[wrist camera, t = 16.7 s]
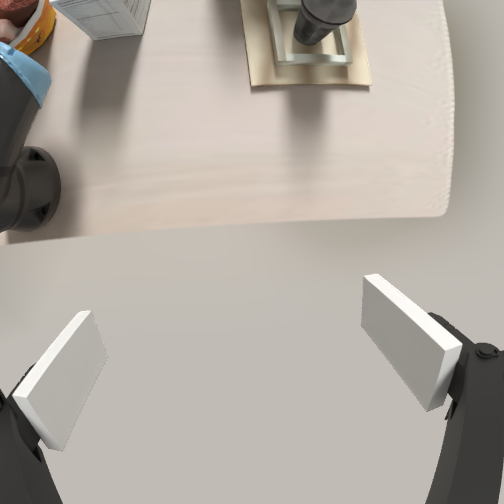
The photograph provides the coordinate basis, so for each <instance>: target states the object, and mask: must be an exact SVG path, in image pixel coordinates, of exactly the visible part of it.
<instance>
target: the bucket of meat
mask: <svg viewBox="0 0 504 504" xmlns="http://www.w3.org/2000/svg"><path fill="white" fill-rule="evenodd" d="M55 16H56V12H55V11H54V9H53V7H52V5H51V4H49V0H0V42H3V43H5V44H7V45H9V46H11V47H12V48H14V49H15V50H18V51H20V52H22V53H24V54H25V55H27V56H28V55H29V54H31V53H32V52H33V51H34V50H36V49H37V48H38V47H39V46H41V45H42V44H43V43H44V41H45V40H46V38H47V37H48V35H49V34H50V33H51V31H52V29H53V26H54V21H55Z"/></svg>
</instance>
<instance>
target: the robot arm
mask: <svg viewBox="0 0 504 504" xmlns="http://www.w3.org/2000/svg"><path fill="white" fill-rule="evenodd" d="M50 84H51V76H50V74H49V72H48V71H47V70H46V69H45V68H44V67H43V66H41V65H40V64H39V63H37V62H36V61H34V60H33V59H32V58H30V57H28V56H27V55H25V54H24V53H22V52H20V51H18V50H15V49H14V48H12V47H11V46H9V45H7V44H5V43H3V42H0V233H1V232H3V231H6V230H13V231H20V232H29V231H33V230H35V229H38V228H40V227H42V226H44V225H45V224H46V223H47V222H48V221H49V220H50V219H51V218H52V216H53V214H54V213H55V211H56V208H57V205H58V202H59V197H60V177H59V172H58V169H57V166H56V164H55V162H54V160H53V158H52V157H51V156H50V155H49V154H48V153H47V152H46V151H45V150H43V149H42V148H39V147H35V146H24V147H23V145H24V143H25V140H26V138H27V135H28V133H29V130H30V128H31V126H32V123H33V121H34V119H35V117H36V115H37V112H38V110H39V109H41V107H42V102H43V100H44V98H45V95H46V93H47V91H48V89H49V87H50ZM361 326H362V328H363V329H364V330H365V331H366V333H367V334H368V335H369V336H370V338H371V339H372V340H373V342H374V343H375V344H376V345H377V347H378V348H379V349H380V351H381V352H382V353H383V354H384V356H385V357H386V358H387V360H388V361H389V362H390V364H391V365H392V366H393V367H394V369H395V370H396V372H397V373H398V374H399V375H400V377H401V378H402V379H403V381H404V382H405V383H406V385H407V386H408V387H409V389H410V390H411V391H412V393H413V394H414V395H415V397H416V398H417V400H418V401H419V402H420V404H421V405H422V406H423V408H424V409H425V410H426V412H428V411H431V410H433V409H435V408H437V407H440V406H442V405H443V404H444V401H445V399H446V396H447V393H448V394H449V395H450V396H451V397H452V399H453V400H452V403H451V405H450V408H449V410H448V412H447V415H446V417H445V420H447V419H448V421H447V427H446V431H445V436H444V441H443V445H442V449H441V453H440V457H439V461H438V465H437V468H436V472H435V475H434V479H433V482H432V485H431V488H430V491H429V494H428V497H427V500H426V503H425V504H498V499H499V493H500V487H501V479H502V471H503V460H504V351H500V350H499V349H498V348H497V347H495V346H493V345H492V344H488V343H477V344H474V343H473V342H472V341H470V340H469V339H468V338H467V337H466V336H464V335H463V334H462V333H461V332H460V331H459V330H457V329H455V327H454V326H452V325H451V324H449V322H448V321H446V320H445V319H444V318H443V317H441V316H439V315H436V314H434V313H426V312H424V311H423V310H422V309H421V308H420V307H418V306H417V305H416V304H415V303H414V302H412V301H411V300H409V298H407V297H406V296H405V295H404V294H402V293H401V292H400V291H399V290H397V289H396V288H395V287H393V286H392V285H391V284H390V283H389V282H387V281H386V280H385V279H383V278H382V277H381V276H380V275H378V274H372V275H366V276H363V299H362V321H361ZM107 359H108V354H107V352H106V349H105V347H104V344H103V342H102V339H101V336H100V333H99V330H98V328H97V324H96V322H95V319H94V316H93V313H92V311H80V312H78V314H77V315H76V316H75V317H74V318H73V319H72V320H71V322H70V323H69V324H68V325H67V326H66V327H65V328H64V330H63V331H62V332H61V333H60V334H59V336H58V337H57V338H56V339H55V341H54V342H53V343H52V344H51V345H50V347H49V348H48V349H47V350H46V351H45V353H44V354H43V355H42V356H41V358H40V359H39V360H38V362H37V363H35V364H34V365H32V366H31V367H30V368H29V369H28V371H27V372H26V373H25V376H23V377H22V378H21V380H20V382H18V384H17V385H16V387H15V388H14V389H13V390H12V392H11V393H10V394H9V396H8V397H7V399H6V398H5V396H4V394H3V393H2V391H1V389H0V504H63V503H62V501H61V498H60V496H59V494H58V491H57V489H56V487H55V485H54V482H53V479H52V477H51V474H50V472H49V469H48V466H47V464H46V461H45V459H44V455H43V452H42V450H41V448H40V447H39V446H38V442H39V440H40V438H41V440H42V441H43V442H44V444H45V445H46V446H47V447H48V448H49V449H54V450H58V451H63V450H64V448H65V446H66V443H67V441H68V439H69V436H70V434H71V432H72V430H73V428H74V426H75V423H76V421H77V419H78V417H79V415H80V413H81V411H82V408H83V406H84V404H85V402H86V400H87V398H88V396H89V394H90V392H91V390H92V388H93V386H94V384H95V382H96V380H97V378H98V376H99V374H100V372H101V370H102V368H103V367H104V365H105V363H106V361H107Z"/></svg>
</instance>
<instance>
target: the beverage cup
mask: <svg viewBox="0 0 504 504" xmlns="http://www.w3.org/2000/svg"><path fill="white" fill-rule="evenodd" d="M356 8H357V2H356V0H301V7H300V10H299V13H298V16H297V19H296V22H295V26H294V31H293V34H294V37H295V39H296V40H297V41H298V42H299V43H301V44H303V45H307V46H312V45H315V44H317V43H318V42H320V41H321V40H322V39H323V38H325V37H326V36H327V35H328V34H330V33H331V32H332V31H333V30H334V29H336V28H337V27H339V26H341V25H343V24H346V23H348V22H349V21H350V20H352V18H353V16H354V13H355V11H356Z"/></svg>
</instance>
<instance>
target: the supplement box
mask: <svg viewBox="0 0 504 504" xmlns="http://www.w3.org/2000/svg"><path fill="white" fill-rule="evenodd" d="M150 1H151V0H50V2H49V4H51V5H52V6H53V7H54V8H56V9H57V10H58V11H59V12H61V13H62V14H63V15H64V16H66V17H67V18H68V19H69V20H70V21H72V22H73V23H74V24H75V25H77V26H78V27H79V28H80V29H81V30H82V31H84V32H85V33H86V34H87V35H88V36H90V37H91V38H92V39H93V40H102V39H109V38H116V37H123V36H133V35H142V34H143V30H144V26H145V21H146V17H147V12H148V8H149V5H150Z"/></svg>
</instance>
